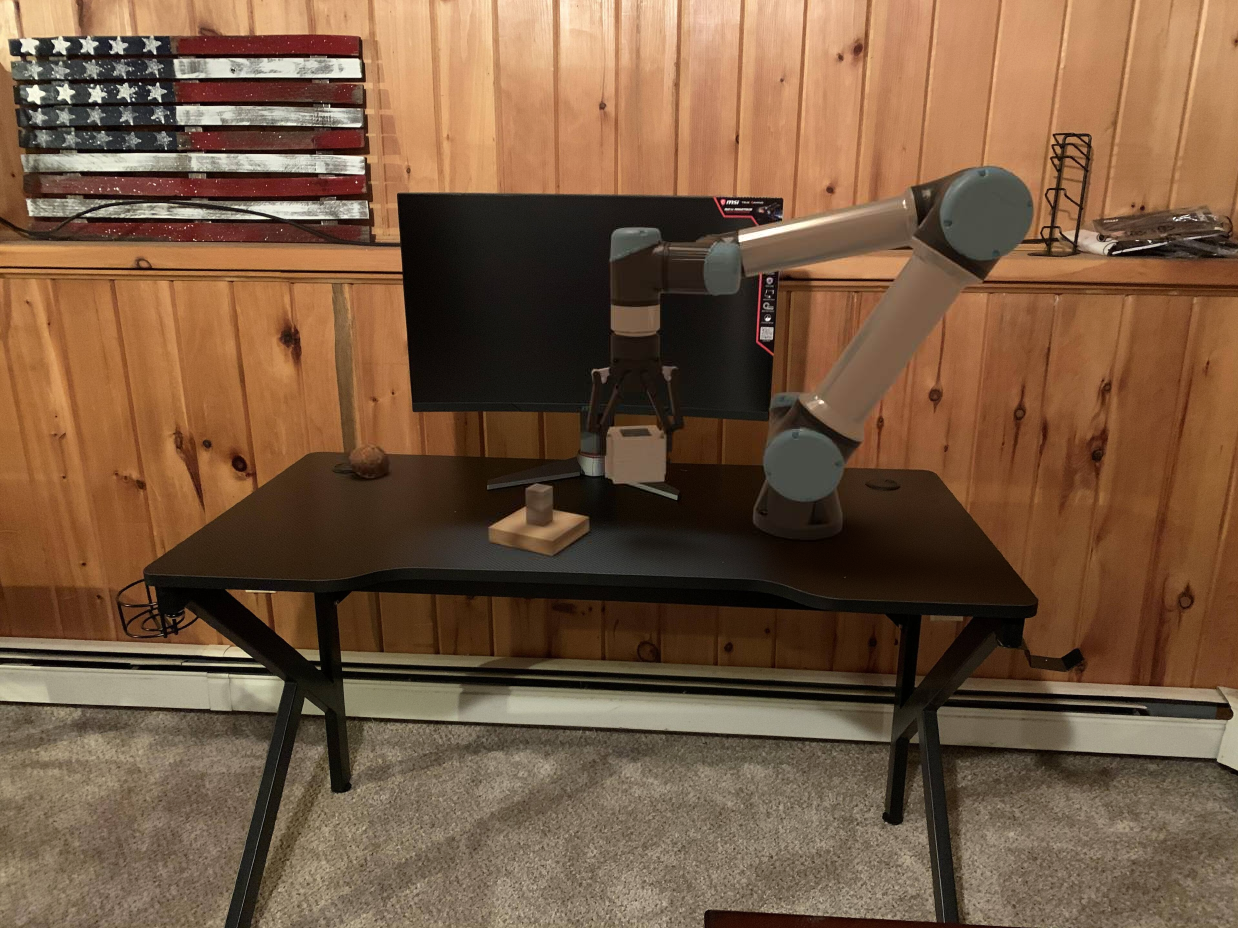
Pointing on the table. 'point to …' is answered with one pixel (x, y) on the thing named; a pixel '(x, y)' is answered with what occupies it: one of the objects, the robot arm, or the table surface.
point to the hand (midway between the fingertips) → (635, 472)
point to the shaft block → (539, 524)
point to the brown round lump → (369, 461)
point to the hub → (637, 454)
